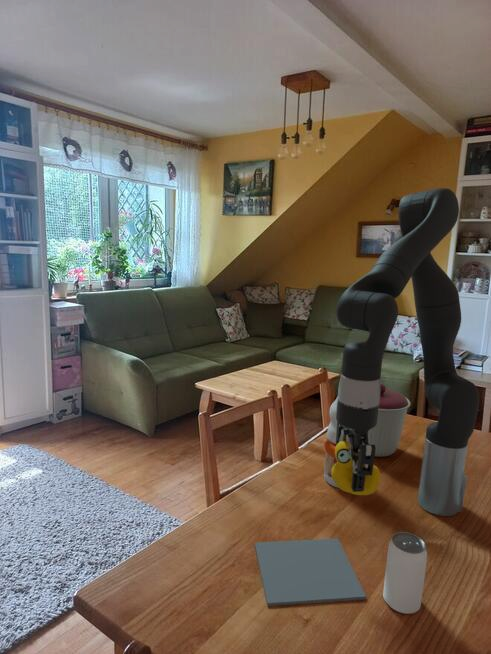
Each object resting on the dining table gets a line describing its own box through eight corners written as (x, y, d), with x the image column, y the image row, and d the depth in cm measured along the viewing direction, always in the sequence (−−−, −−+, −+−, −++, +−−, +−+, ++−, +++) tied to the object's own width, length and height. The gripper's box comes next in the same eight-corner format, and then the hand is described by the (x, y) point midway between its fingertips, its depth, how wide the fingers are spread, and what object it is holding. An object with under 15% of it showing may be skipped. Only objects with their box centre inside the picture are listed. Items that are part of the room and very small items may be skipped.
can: (377, 587, 85) (383, 530, 83) (411, 586, 86) (418, 529, 83) (391, 616, 79) (398, 555, 77) (427, 615, 80) (435, 554, 77)
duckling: (315, 486, 90) (319, 439, 88) (326, 475, 94) (330, 430, 92) (373, 507, 84) (378, 457, 82) (381, 494, 88) (387, 446, 86)
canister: (357, 431, 153) (362, 371, 149) (412, 447, 143) (419, 383, 139) (333, 450, 139) (339, 384, 135) (393, 470, 129) (401, 399, 124)
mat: (337, 540, 98) (337, 538, 98) (365, 599, 82) (366, 596, 82) (254, 545, 96) (254, 542, 96) (267, 606, 80) (267, 603, 80)
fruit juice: (345, 468, 128) (354, 373, 123) (367, 485, 120) (377, 384, 114) (317, 474, 125) (324, 376, 119) (336, 492, 116) (345, 387, 111)
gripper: (327, 385, 91) (321, 462, 95) (352, 413, 77) (344, 502, 81) (363, 385, 92) (355, 461, 96) (394, 413, 78) (384, 500, 82)
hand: (350, 479), depth 88 cm, fingers closed on duckling, 7 cm apart
